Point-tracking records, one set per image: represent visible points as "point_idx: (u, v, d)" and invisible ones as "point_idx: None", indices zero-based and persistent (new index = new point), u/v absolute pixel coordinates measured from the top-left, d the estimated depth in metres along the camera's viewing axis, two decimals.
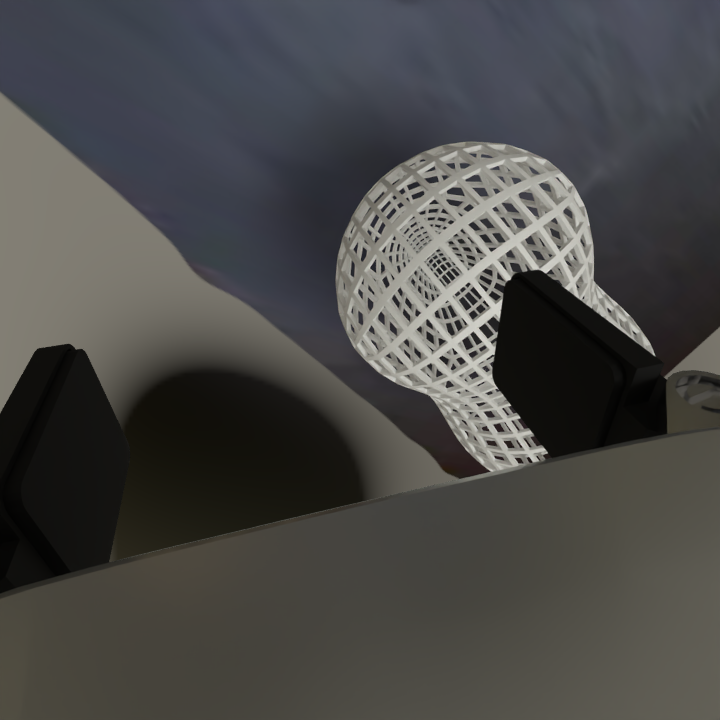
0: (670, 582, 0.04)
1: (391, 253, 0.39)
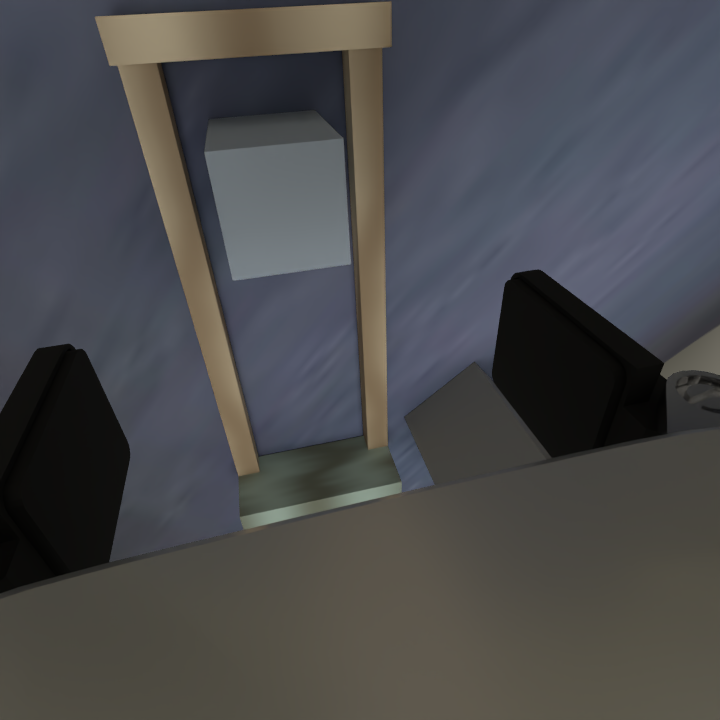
0: (670, 582, 0.04)
1: None
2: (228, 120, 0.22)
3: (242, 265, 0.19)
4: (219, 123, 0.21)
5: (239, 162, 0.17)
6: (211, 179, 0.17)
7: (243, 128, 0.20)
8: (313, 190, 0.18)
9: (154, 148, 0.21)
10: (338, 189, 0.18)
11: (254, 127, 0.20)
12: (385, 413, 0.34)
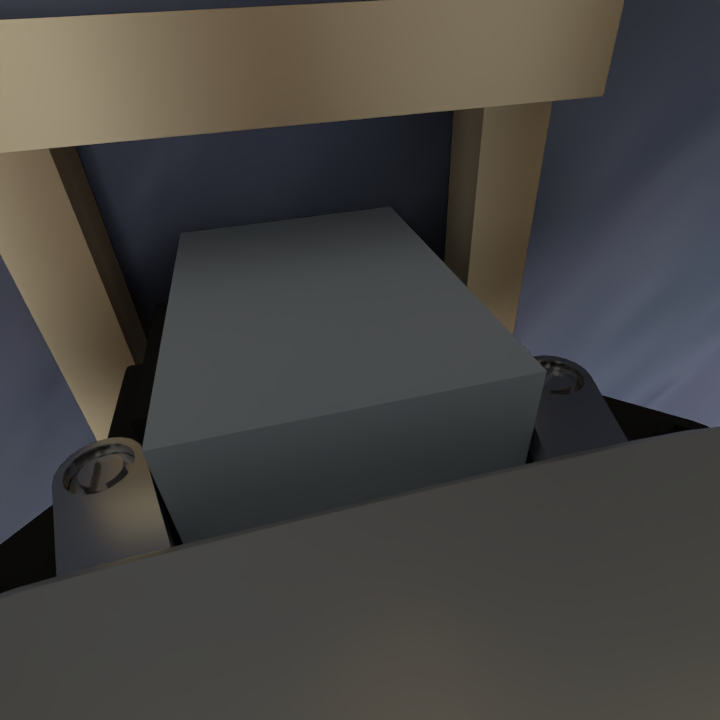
0: (670, 582, 0.04)
1: None
2: (220, 241, 0.10)
3: None
4: (200, 255, 0.10)
5: (250, 459, 0.06)
6: (169, 504, 0.06)
7: (255, 284, 0.09)
8: (444, 481, 0.07)
9: (59, 311, 0.10)
10: None
11: (280, 280, 0.09)
12: None
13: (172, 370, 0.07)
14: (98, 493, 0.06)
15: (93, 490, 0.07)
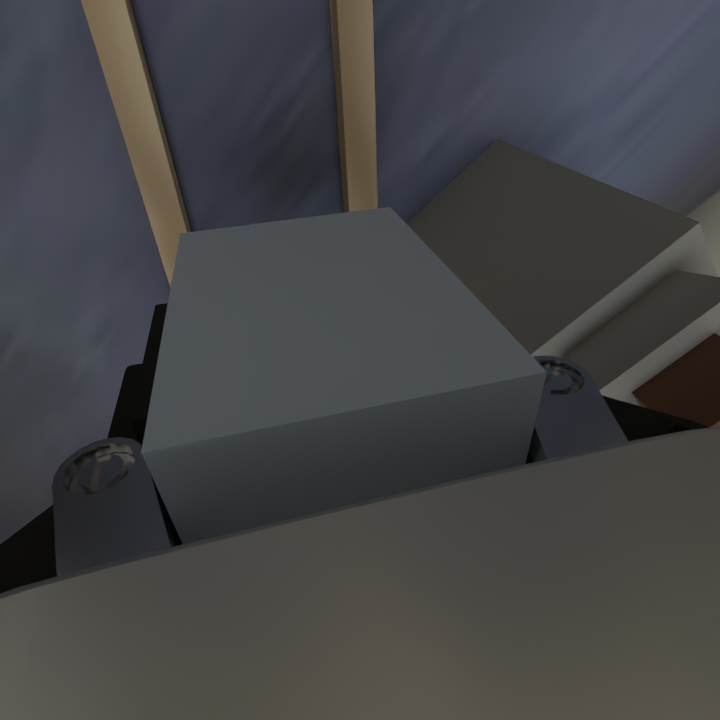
0: (670, 582, 0.04)
1: None
2: (220, 241, 0.10)
3: None
4: (200, 255, 0.10)
5: (250, 459, 0.06)
6: (168, 505, 0.06)
7: (254, 284, 0.09)
8: None
9: None
10: None
11: (280, 280, 0.09)
12: (375, 200, 0.24)
13: (172, 371, 0.07)
14: (98, 493, 0.06)
15: (93, 490, 0.07)
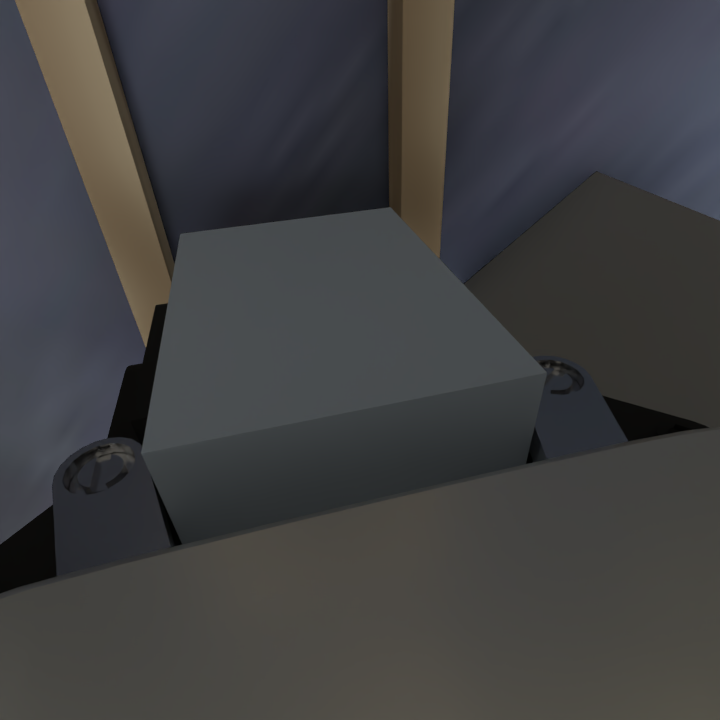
0: (670, 582, 0.04)
1: None
2: (220, 242, 0.10)
3: None
4: (200, 255, 0.10)
5: (250, 460, 0.06)
6: (168, 506, 0.06)
7: (254, 285, 0.09)
8: None
9: None
10: None
11: (280, 281, 0.09)
12: None
13: (172, 372, 0.07)
14: (98, 493, 0.06)
15: (93, 490, 0.07)
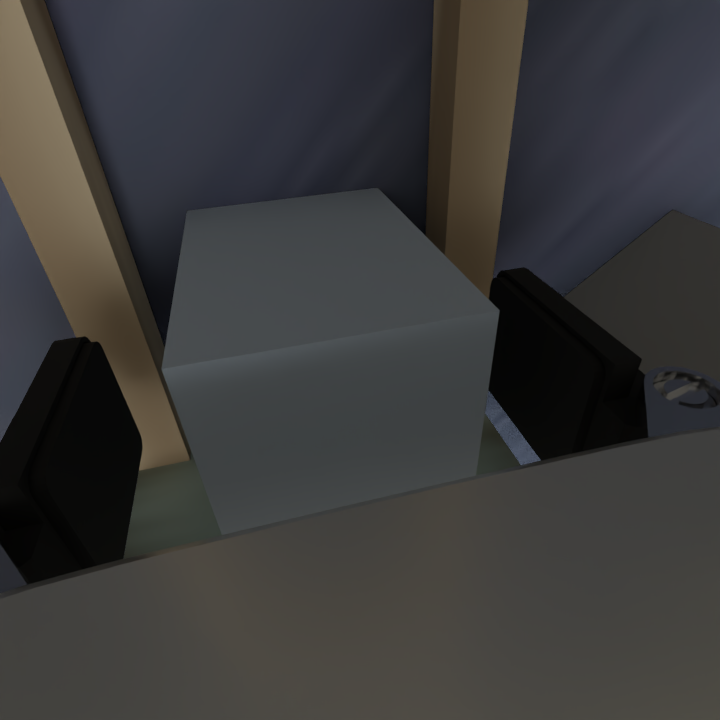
0: (670, 582, 0.04)
1: None
2: (223, 216, 0.12)
3: None
4: (206, 227, 0.11)
5: (250, 380, 0.07)
6: (182, 419, 0.07)
7: (254, 249, 0.10)
8: (416, 411, 0.08)
9: None
10: (470, 403, 0.08)
11: (276, 246, 0.10)
12: None
13: (184, 313, 0.08)
14: None
15: None
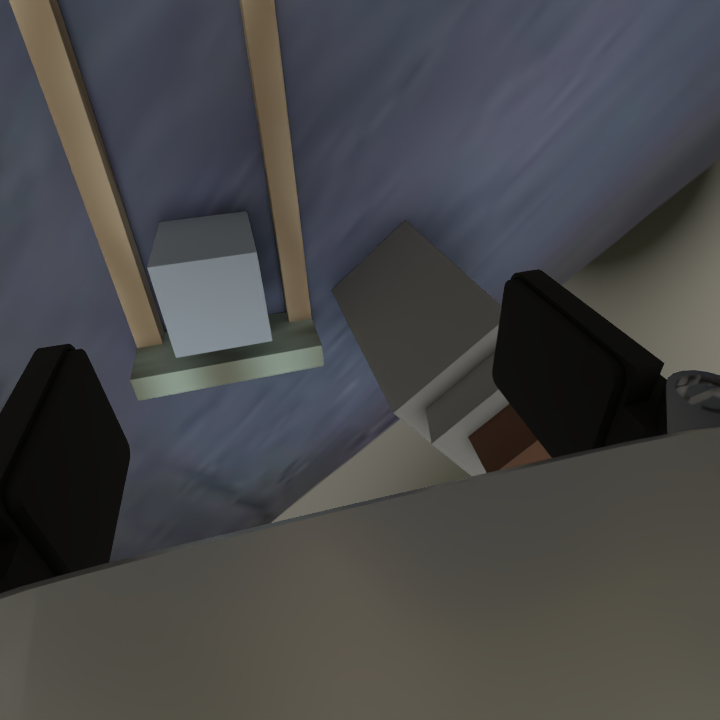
0: (669, 581, 0.04)
1: None
2: (174, 224, 0.27)
3: (182, 346, 0.24)
4: (166, 228, 0.26)
5: (175, 273, 0.22)
6: (154, 286, 0.22)
7: (184, 236, 0.25)
8: (236, 289, 0.23)
9: None
10: (256, 287, 0.24)
11: (193, 235, 0.25)
12: (304, 272, 0.30)
13: (155, 255, 0.23)
14: None
15: None
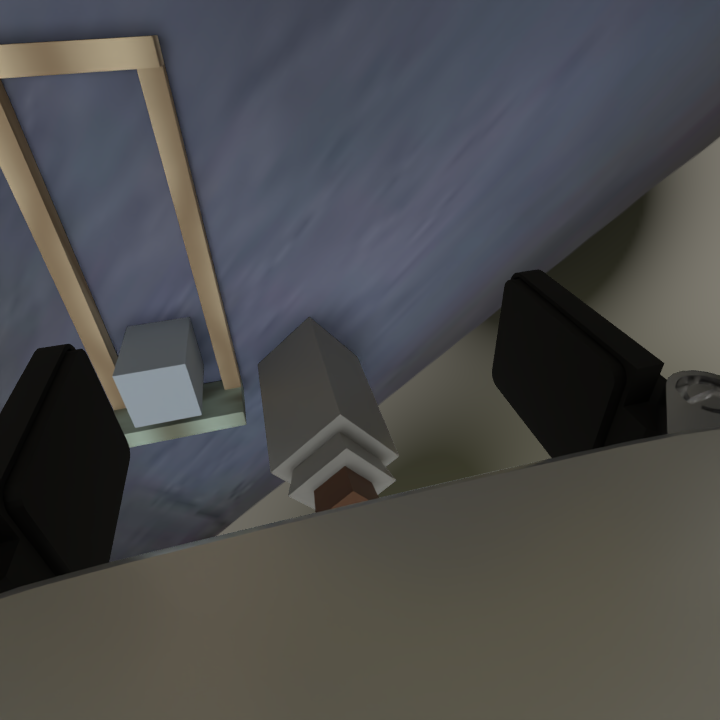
0: (670, 582, 0.04)
1: None
2: (137, 330, 0.39)
3: (139, 420, 0.36)
4: (130, 335, 0.38)
5: (131, 378, 0.34)
6: (117, 386, 0.34)
7: (141, 344, 0.37)
8: (173, 385, 0.35)
9: None
10: (187, 384, 0.35)
11: (147, 343, 0.37)
12: (232, 357, 0.41)
13: (119, 364, 0.35)
14: None
15: None
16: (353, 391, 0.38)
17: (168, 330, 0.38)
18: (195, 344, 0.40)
